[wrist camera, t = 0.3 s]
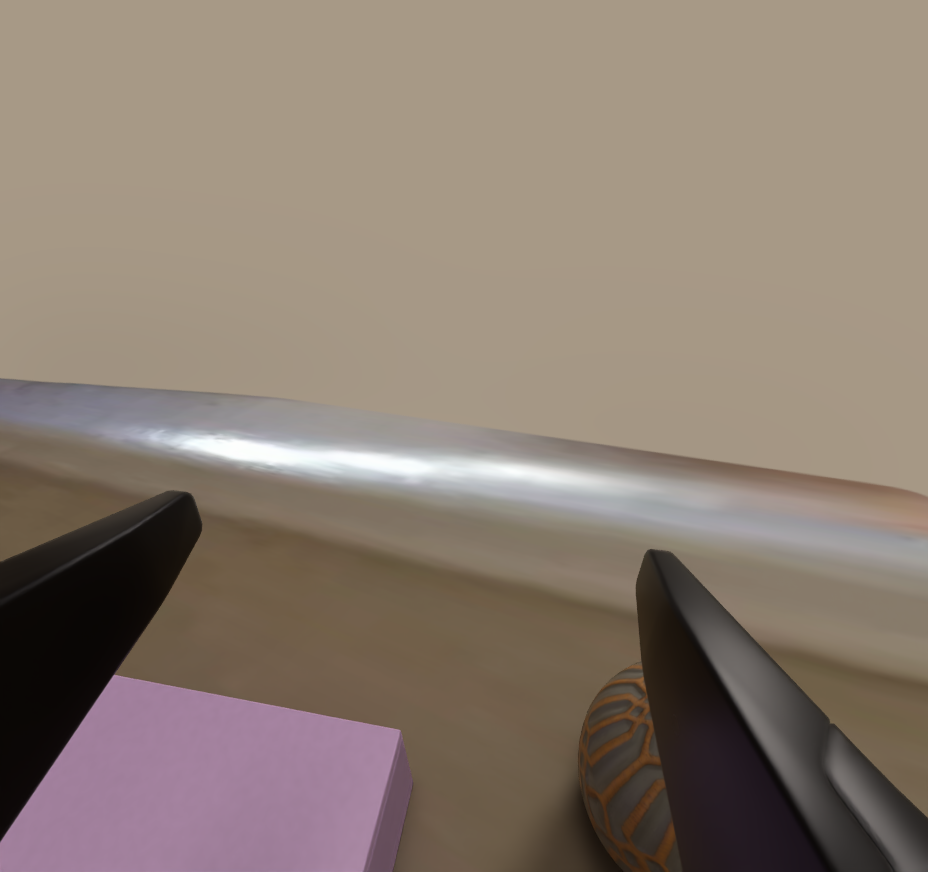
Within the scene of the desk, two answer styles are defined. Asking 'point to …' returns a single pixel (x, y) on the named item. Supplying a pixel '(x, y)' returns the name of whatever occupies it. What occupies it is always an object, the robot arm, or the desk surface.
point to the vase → (626, 777)
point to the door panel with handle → (205, 788)
